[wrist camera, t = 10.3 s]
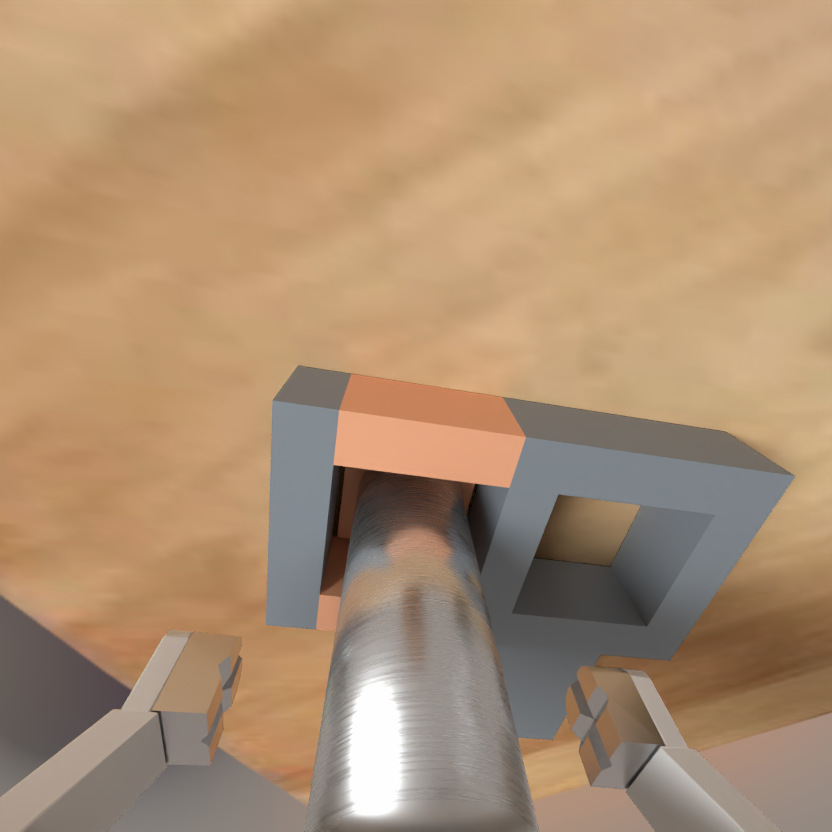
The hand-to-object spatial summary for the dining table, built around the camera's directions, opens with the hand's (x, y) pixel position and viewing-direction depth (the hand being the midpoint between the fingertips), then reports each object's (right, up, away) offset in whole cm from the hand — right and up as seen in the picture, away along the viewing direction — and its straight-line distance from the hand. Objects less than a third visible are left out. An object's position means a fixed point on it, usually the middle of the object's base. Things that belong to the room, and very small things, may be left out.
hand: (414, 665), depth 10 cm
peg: (0, +3, +6) cm, 7 cm away
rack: (+2, -1, +8) cm, 9 cm away
